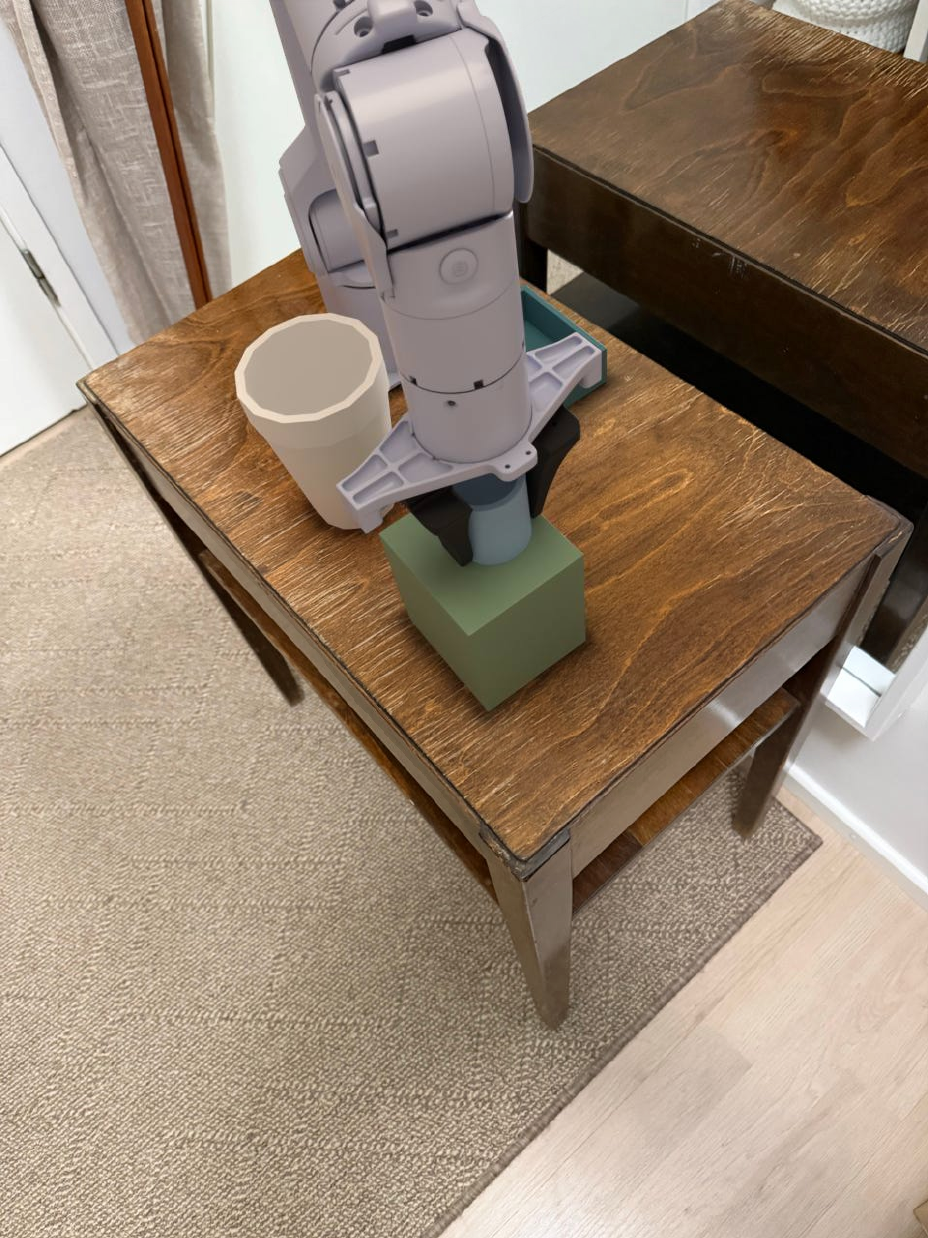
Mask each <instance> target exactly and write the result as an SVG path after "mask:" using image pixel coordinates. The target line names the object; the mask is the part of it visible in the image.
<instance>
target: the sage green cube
mask: <svg viewBox="0 0 928 1238" xmlns="http://www.w3.org/2000/svg"><path fill="white" fill-rule="evenodd" d="M530 522H531V538H530V541H529V543H528V545H527V547H526V548H525V549H524V551H523V552H522V553H521V554H520V555H518V556H517V557H516V558H514V559H512V560H510V561H508V562H506V563H503V564H498V565H482V564H478V563H475V562H473V561H471V562H470V563H468V564H467V565H465V566H464V567H462V566H460V565H459V564H458V563H457V561H456V560H455V559H454V558H453V557H452V556H451V555H450V554H449V553H448V552H447V551H446V550H445V548H444V547H443V546H442V544H441V542H440V540H439V538H438V536H435V535H433V534H432V533H431V532H430V531H428V530H427V529H426V528H425V527H424V526H423V525H422V524H421V523H420V522H419V521H418V520H417V519H416V518H415V517H414V516H413V515H412V513H411V512H410V511H409V512H408V513H407V514H406V515H404V516H402V517H401V518H400V519H398V520H397V521H395V522H393V523H391V524H390V525H389V526H387V527H386V528H385V529H383V530H381V531H380V532H379V533H378V536H379V539H380V542H381V545H382V548H383V551H384V553H385V556H386V559H387V561H388V564H389V567H390V570H391V573H392V574H393V577H394V581H395V584H396V586H397V588H398V591H399V594H400V597H401V599H402V602H403V605H404V607H405V611H406V612H407V613H406V614H407V616H408V618H409V620H410V621H411V623H412V624H413V625H414V626H415V627H416V628H417V630H418V631H419V632H420V633H421V634H422V636H423V637H424V638H425V640H427V642H428V643H429V644H430V645H431V647H432V648H433V649H434V650H435V652H437V653H438V655H439V656H440V657H441V658H442V659H443V661H444V662H445V663H446V664H447V665H448V666H449V667H450V669H451V670H452V671H453V672H454V674H455V675H456V676H457V677H458V678H459V680H460V681H461V682H462V683H463V684H464V685H465V687H466V688H467V689H468V690H469V692H471V694H472V695H473V697H474V698H475V699H476V700H477V701H478V702H479V703H480V704H481V706H482V707H483V708H484V709H485V711H486V712H488V713H489V712H491V711H492V710H494V709H496V707H498V706H499V705H500V704H502V703H503V702H504V701H506V700H507V699H508V698H510V697H511V696H513V695H514V694H515V693H516V692H518V691H520V690H521V689H522V688H523V687H525V686H526V685H527V684H529V683H530V682H531V681H533V680H534V679H536V678H537V677H538V676H540V675H541V674H542V673H544V672H545V671H547V670H548V669H549V668H551V667H553V666H554V665H555V664H556V663H557V662H559V661H560V660H562V659H563V658H565V656H566V657H567V655H569V654H570V653H571V652H572V651H574V650H576V649H577V648H578V647H579V646H581V645H582V644H583V643H585V642H586V640H587V639H586V638H587V637H586V636H587V635H586V601H585V600H586V599H585V598H586V597H585V596H586V595H585V566H584V565H585V562H584V561H585V560H584V554H583V552H581V551H580V549H578V548H577V547H576V545H574V543H572V542H571V541H570V540H569V539H568V538H567V537H566V536H565V535H564V534H562V532H561V531H560V530H558V529H557V528H556V526H554V525H553V524H552V523H551V522H550V520H548V518H547V517H545V516H544V515H543V514H542V513H541V514H540V515H539V516H537V517H536V518H534V519H532V518H531V517H530Z"/></svg>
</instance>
